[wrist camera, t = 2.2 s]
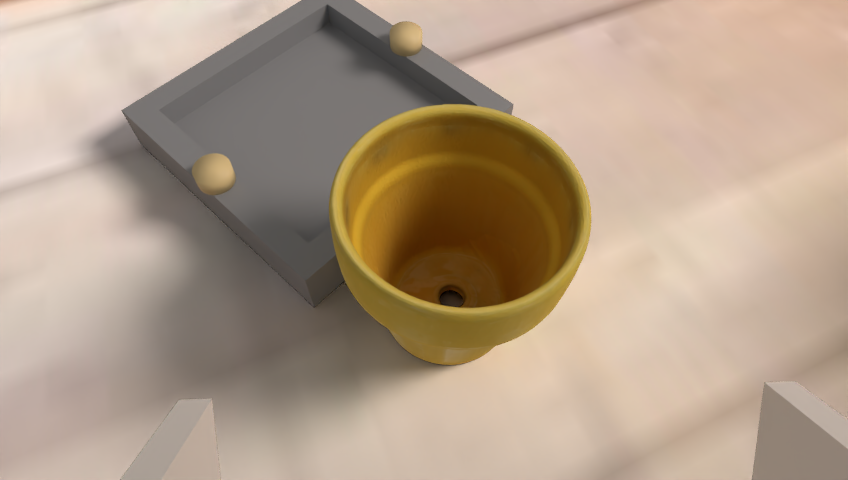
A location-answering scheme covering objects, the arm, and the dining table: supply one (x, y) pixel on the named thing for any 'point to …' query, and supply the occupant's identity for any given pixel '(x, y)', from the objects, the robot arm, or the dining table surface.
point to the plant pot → (458, 227)
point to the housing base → (293, 124)
